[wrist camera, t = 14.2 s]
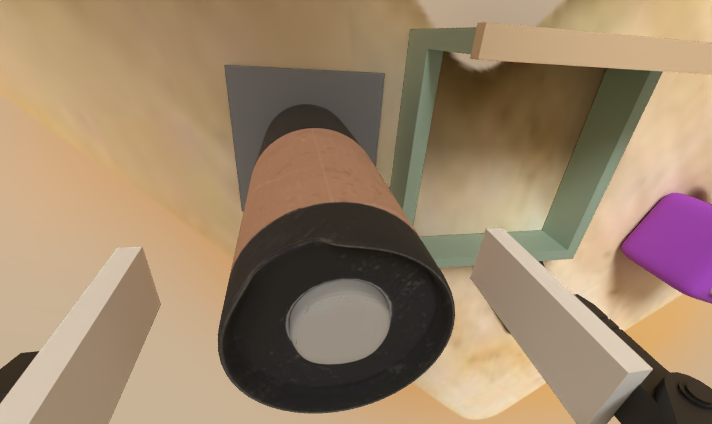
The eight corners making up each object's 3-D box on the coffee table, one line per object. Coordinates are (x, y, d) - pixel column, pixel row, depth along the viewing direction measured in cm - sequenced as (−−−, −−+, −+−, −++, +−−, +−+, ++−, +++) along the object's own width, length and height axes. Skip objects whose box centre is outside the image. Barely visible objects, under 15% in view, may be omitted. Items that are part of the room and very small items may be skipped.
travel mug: (334, 197, 30) (398, 420, 13) (250, 174, 27) (190, 413, 10) (365, 119, 27) (505, 272, 10) (275, 84, 24) (247, 209, 7)
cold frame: (410, 26, 24) (486, 22, 15) (628, 44, 28) (793, 49, 19) (382, 247, 34) (418, 327, 25) (547, 238, 38) (630, 304, 29)
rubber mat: (225, 65, 23) (224, 65, 23) (383, 73, 26) (384, 73, 25) (242, 209, 29) (242, 211, 29) (370, 205, 31) (371, 207, 31)
